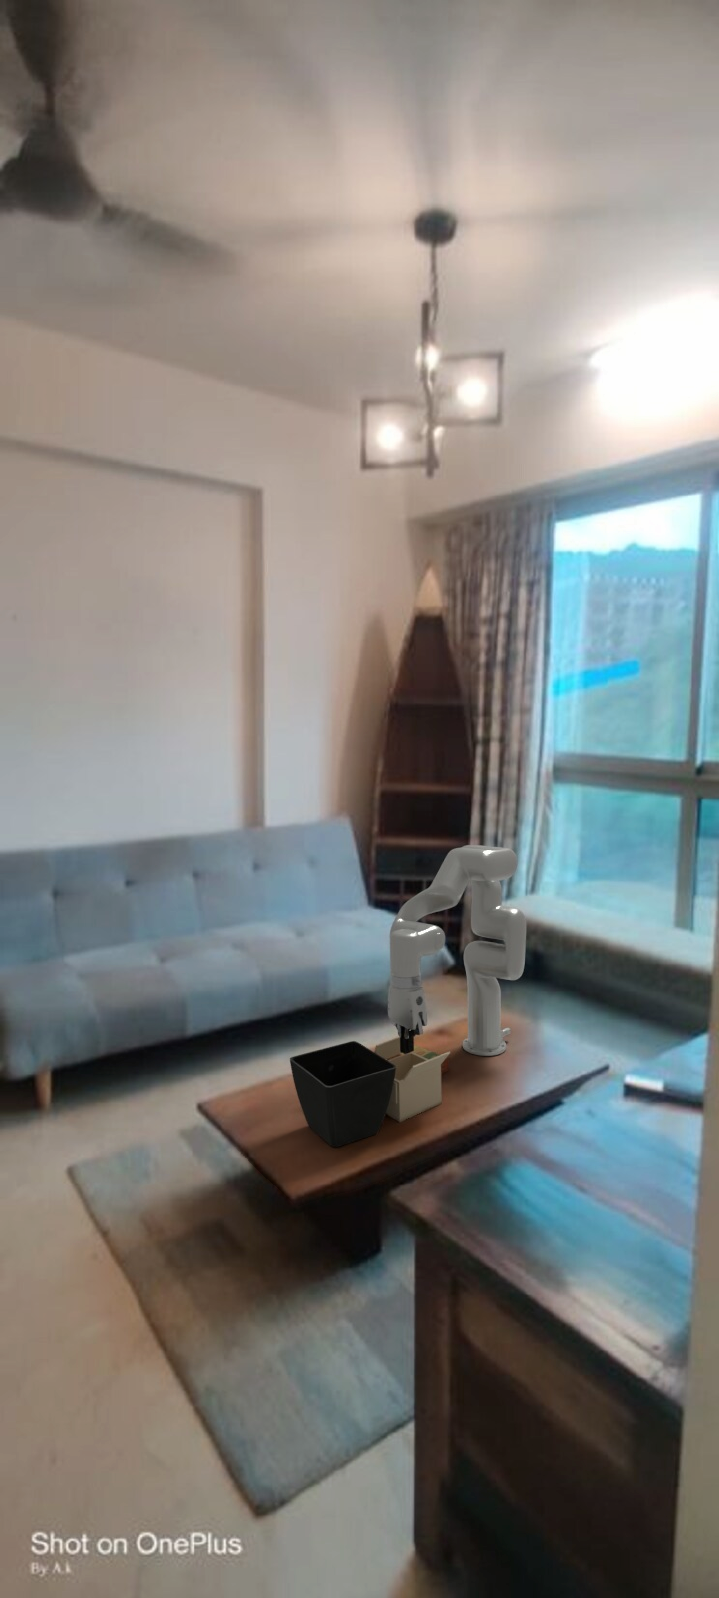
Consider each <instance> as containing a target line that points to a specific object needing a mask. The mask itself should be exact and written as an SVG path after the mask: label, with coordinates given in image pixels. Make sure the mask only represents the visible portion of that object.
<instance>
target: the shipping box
mask: <svg viewBox="0 0 719 1598" xmlns="http://www.w3.org/2000/svg"><path fill="white" fill-rule="evenodd" d="M427 1060H428V1059H426V1058H424V1057H422V1056H420V1055H418V1054H416V1053H413V1052H410V1053H408V1054H404V1055H401V1056H398V1057H396V1058H393V1059H391V1060H388V1061H389V1062H391V1063H392V1064H394V1065H395V1066H396V1072H395V1078H394V1084H393V1089H392V1093H391V1097H390V1101H389V1104H388V1108H387V1111H386V1114H385V1116H387V1117H389V1118H391V1119H393V1120H395V1121H396V1122H399V1123H402V1122H404V1121H407V1120H409V1119H410V1118H411V1119H412V1118H413V1117H415V1116H417V1114H418V1115H420V1114H422V1113H423V1112H426V1111H428V1110H430V1108H431V1109H433V1108H435V1107H437V1106H440V1105H441V1104H442V1074H441V1065H440V1066H438V1067H436V1068H433V1069H431V1070H428V1071H426V1072H423V1073H421V1074H419V1075H416V1076H414V1077H411V1078H409V1079H407V1080H404V1081H403V1078H404V1077H405V1076H406V1074H407V1073H408V1072H409V1070H410V1069H411V1068H412V1066H414V1065H417V1064H419V1063H422V1062H424V1061H427ZM421 1112H422V1113H421ZM419 1113H420V1114H419ZM408 1118H409V1119H408ZM406 1119H407V1120H406Z"/></svg>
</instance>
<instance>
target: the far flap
mask: <svg viewBox="0 0 719 1598" xmlns="http://www.w3.org/2000/svg"><path fill="white" fill-rule="evenodd" d="M373 1052H374V1053H376V1054H378V1055H379V1056H381V1057H383V1058H384V1059H386V1060H387V1059H388V1058H390V1057H393V1056H396V1055H398V1054H401V1052H400V1036H399V1035H398V1036H397V1037H394V1038H391V1039H389V1040H385V1041H383V1042H380V1043H378V1044H376V1045H375V1049H374V1051H373Z"/></svg>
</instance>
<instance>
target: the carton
mask: <svg viewBox="0 0 719 1598" xmlns="http://www.w3.org/2000/svg"><path fill="white" fill-rule="evenodd" d="M413 1053H416V1054H418V1055H420V1056H422V1057H424V1058H426V1059H428V1060H429V1059H432V1058H434V1057H437V1056H439V1055H441V1053H437V1052H435V1051H432V1050H429V1049H426V1048H424V1047H421V1046H418V1045H415V1044H414V1051H413ZM401 1055H404V1054H403V1053H401V1054H398V1055H396V1056H393V1057H390V1058H388V1059H386V1060H391V1059H393V1058H396V1057H398V1056H401ZM449 1059H450V1058H449V1056H447V1058H446V1059H445V1060H444V1061H443V1063H442V1064H441V1075H442V1074H444V1073H445V1072H447V1071H449V1069H450V1066H449V1064H450V1063H449Z"/></svg>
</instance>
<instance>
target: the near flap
mask: <svg viewBox="0 0 719 1598" xmlns="http://www.w3.org/2000/svg"><path fill="white" fill-rule="evenodd" d="M450 1054H451V1051H447V1052H445V1053H442V1054H440V1055H439V1056H437V1057H434V1058H432V1059H429V1060H427V1061H424V1062H422V1063H419V1064H417V1065H414V1066H412V1068H411V1069H410V1070H409V1072H408V1073H407V1074H406V1076H405V1077H404V1078H403V1081H404V1080H407V1079H409V1078H411V1077H414V1076H416V1075H419V1074H421V1073H423V1072H426V1071H428V1070H431V1069H433V1068H436V1067H438V1066H440V1065H441V1064H442V1063H443V1061H444V1060H445V1059H446V1058H447V1057H449V1055H450Z"/></svg>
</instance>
